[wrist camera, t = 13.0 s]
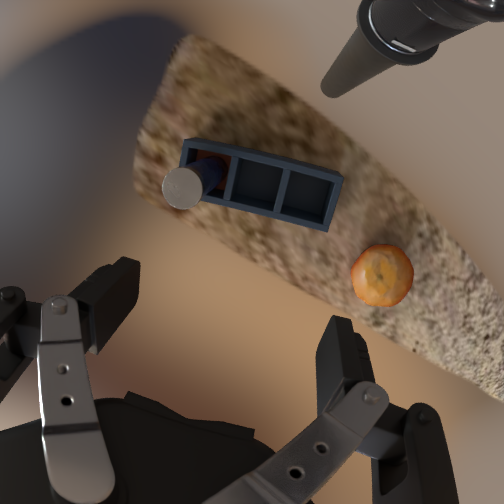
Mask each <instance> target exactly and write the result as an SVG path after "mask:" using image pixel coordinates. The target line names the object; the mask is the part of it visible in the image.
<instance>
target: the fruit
mask: <svg viewBox="0 0 504 504" xmlns="http://www.w3.org/2000/svg"><path fill="white" fill-rule="evenodd" d="M413 276H414V269H413V267H412V264H411V262H410V259H409V258H408V257H407V256H406V254H405V253H404V252H403V251H402V250H401V249H400V248H398V247H396V246H393V245H388V244H380V245H374V246H372V247H370V248H368V249H367V250H365V251H364V252H363V253H362V254H361V255H360V257H359V258H358V259H357V261H356V262H355V263H354V264H353V266H352V268H351V278H352V284H353V286H354V289H355V292H356V295H357V296H358V297H359V298H360V299H362V300H363V301H365V303H367V304H369V305H371V306H384V307H391V306H394V305H396V304H398V303H399V302H401V300H402V299H403V298H404V297H405V296H406V294H407V293H408V292H409V290H410V288H411V286H412V282H413Z"/></svg>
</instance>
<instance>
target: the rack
mask: <svg viewBox="0 0 504 504" xmlns="http://www.w3.org/2000/svg"><path fill="white" fill-rule="evenodd" d="M211 155H215V156H219V157H221V158H222V159H223V160H224V161H225V162H226V164H227V167H228V173H227V176H226V178H225V179H224V180H223V181H222V182H221V183H219V184H218V185H217V186H216V187H215V188H213V189H212V190H211V191H210V192H209V193H207V194H206V195H205V196H204V197H203V198H202V199H201V201H205V202H209V203H214V204H218V205H222V206H226V207H230V208H234V209H238V210H242V211H246V212H250V213H254V214H258V215H262V216H266V217H270V218H274V219H278V220H282V221H286V222H290V223H293V224H297V225H301V226H305V227H309V228H312V229H316V230H320V231H323V232H328V229H329V226H330V223H331V220H332V217H333V213H334V210H335V207H336V204H337V200H338V197H339V194H340V190H341V187H342V183H343V180H344V177H343V176H342V175H341V174H340V173H339V172H337V171H334V170H331V169H327V168H324V167H320V166H317V165H313V164H309V163H306V162H302V161H298V160H294V159H290V158H287V157H283V156H279V155H275V154H270V153H266V152H262V151H258V150H254V149H249V148H245V147H240V146H236V145H231V144H226V143H221V142H216V141H211V140H206V139H201V138H196V137H195V138H189V139H184V141H183V146H182V152H181V157H180V163H179V167H182V166H185V165H188V164H190V163H193V162H195V161H198V160H200V159H203V158H205V157H208V156H211Z"/></svg>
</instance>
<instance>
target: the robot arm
mask: <svg viewBox="0 0 504 504" xmlns="http://www.w3.org/2000/svg"><path fill="white" fill-rule="evenodd" d="M487 21H489V22H504V0H374V1H373V2H372V4H371V6H370V8H369V11H368V22H369V26H370V28H371V30H372V32H373V34H374V35H375V37H376V38H377V39H378V40H379V41H380V42H381V43H382V44H383V45H384V46H385V47H387V48H388V49H390V50H392V51H394V52H396V53H399V54H402V55H417V54H420V53H422V52H424V51H426V50H427V49H429V48H431V47H433V46H435V45H437V44H439V43H441V42H443V41H445V40H447V39H449V38H451V37H454V36H456V35H458V34H460V33H462V32H464V31H467V30H469V29H471V28H473V27H475V26H478V25H480V24H482V23H484V22H487ZM139 281H140V262H139V261H137V260H134V259H130V258H127V257H124V256H123V257H121V258H120V259H119V260H117V261H116V262H115V263H114V264H113V265H111V264H108V265H105V266H102V267H100V268H98V269H97V270H96V271H95V272H93V273H92V274H91V275H90V276H89V277H88V278H86V280H84V281H83V282H82V283H81V284H80V285H79V286H77V287H76V288H75V289H74V290H73V291H72V292H71V293H70V294H68V295H55V296H51V297H49V298H47V299H46V300H45V301H44V302H43V304H41V303H36V302H30V301H26V297H25V293H24V291H23V290H22V289H21V288H19V287H14V286H8V287H4V288H1V289H0V339H1V337H4V342H3V343H2V344H1V345H0V403H1V401H3V399H4V398H5V396H6V395H7V394H8V392H9V391H10V389H11V388H12V387H13V385H14V384H15V383H16V381H17V380H18V379H19V377H20V376H21V375H22V373H23V372H24V371H25V369H26V368H27V367H28V366H29V364H30V363H31V362H32V360H33V359H34V358H37V359H38V381H39V396H40V407H41V417H42V418H40V419H37V420H34V421H31V422H28V423H25V424H22V425H19V426H15V427H12V428H9V429H6V430H2V431H0V504H314V503H313V501H311V498H312V497H313V496H314V495H315V494H316V493H317V492H318V491H319V490H320V489H321V488H322V487H323V486H324V485H325V484H326V483H327V482H328V480H329V479H330V478H331V477H332V476H333V475H334V474H335V473H336V472H337V470H338V469H339V468H340V467H341V466H342V465H343V464H344V463H345V461H346V460H347V459H348V458H349V457H350V456H351V454H352V453H353V452H354V451H356V452H359V453H361V454H364V455H366V456H369V457H371V469H372V501H373V504H459V500H458V494H457V488H456V484H455V478H454V474H453V468H452V464H451V460H450V455H449V451H448V447H447V442H446V439H445V435H444V431H443V427H442V423H441V420H440V417H439V415H438V413H437V412H436V410H435V409H433V408H432V407H431V406H429V405H427V404H425V403H415V404H413V405H412V406H411V407H410V408H409V409H408V410H406V409H404V408H401V407H398V406H396V405H394V404H392V403H390V402H389V396H388V394H387V393H386V391H385V390H384V389H383V388H382V387H381V386H379V385H378V384H376V383H375V378H374V374H373V370H372V365H371V361H370V357H369V353H368V349H367V345H366V342H365V340H364V339H363V338H362V336H361V335H360V334H359V333H355V332H354V330H353V326H352V321H351V319H348V318H344V317H340V316H335V315H333V316H332V317H331V318H330V321H329V323H328V325H327V327H326V329H325V332H324V334H323V336H322V338H321V340H320V342H319V345H318V348H317V351H316V379H317V418H316V419H315V420H314V421H313V422H312V423H311V424H310V425H309V426H307V427H306V428H305V429H304V430H303V431H302V432H301V433H299V434H298V435H297V436H296V437H295V438H294V439H292V441H290V442H289V443H288V444H287V445H285V446H284V447H283V448H282V449H280V450H279V451H278V452H277V453H275V452H274V451H273V450H272V449H271V448H269V447H268V446H267V445H265V444H264V443H262V442H260V441H258V440H256V439H254V438H253V437H254V431H255V429H252V428H247V427H243V426H239V425H235V424H230V423H226V422H221V421H207V420H193V419H188V418H185V417H183V416H181V415H180V414H178V413H176V412H174V411H173V410H171V409H169V408H167V407H166V406H164V405H162V404H161V403H159V402H157V401H154V400H151V399H149V398H146V397H143V396H141V395H138V394H135V393H133V392H130V391H128V392H127V394H126V396H125V397H124V399H120V398H101V399H96V400H94V399H93V395H92V390H91V385H90V381H89V375H88V370H87V365H86V359H85V354H86V352H87V351H89V352H92V353H94V354H96V355H98V354H99V352H100V351H101V350H102V348H103V347H104V346H105V344H106V343H107V342H108V340H109V339H110V338H111V336H112V335H113V334H114V332H115V331H116V330H117V328H118V327H119V326H120V324H121V323H122V322H123V321H124V319H125V318H126V317H127V315H128V314H129V313H130V312H131V310H132V309H133V308H134V306H135V304H136V302H137V299H138V294H139Z"/></svg>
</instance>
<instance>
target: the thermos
mask: <svg viewBox="0 0 504 504" xmlns="http://www.w3.org/2000/svg"><path fill="white" fill-rule="evenodd" d="M227 173H228V167H227V164H226V162H225V161H224V160H223V159H222V158H221V157H219V156H215V155H211V156H208V157H205V158H203V159H200V160H198V161H195V162H193V163H190V164H188V165H185V166H182V167H178V168H175V169H173V170H171V171H170V172H169V173H168V174H167V175H166V176H165V178H164V180H163V184H162V191H163V195H164V197H165V199H166V201H167V202H168V203H169V204H170V205H171V206H173V207H175V208H178V209H189V208H192V207H193V206H195V205H196V204H197V203H198V202H199V201H200V200H201V199H202V198H203V197H204V196H205V195H206V194H207V193H209V192H210V191H211V190H212V189H213V188H215V187H216V186H217V185H218V184H219V183H221V182H222V181H223V180H224V179H225V178H226V176H227Z"/></svg>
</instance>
